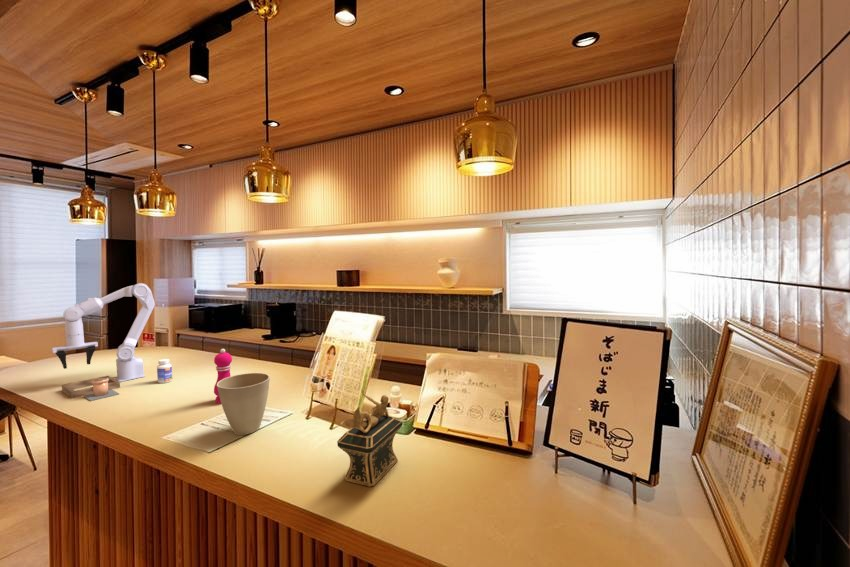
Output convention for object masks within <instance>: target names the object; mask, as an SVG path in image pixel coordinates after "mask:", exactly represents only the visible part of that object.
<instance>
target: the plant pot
mask: <svg viewBox="0 0 850 567" xmlns="http://www.w3.org/2000/svg"><path fill="white" fill-rule="evenodd" d="M230 376H231V377H227V378H225V379H222V380H220V381H219V382H218V383H217V389H218V393H219V397H220V401H221V404H220V405H221V407H222V410H223V412H224V415H225V417H226V420H227V422H228V425H229V426H230V427H231V429H232V431H233V433H234V434H235V435H239V436H242V435H249V434H253V433H256V431H258V430H259V429H260V427H261V424H262V421H263V418H264V413H265V411H266V406H267V400H268V398H269V397H268V396H269V389H270V380H271V377H270V375H269V374H267V373H265V372H264V373H263V372H246V373H240V374H236V375H235V374H234V375H230Z"/></svg>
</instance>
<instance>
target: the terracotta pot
mask: <svg viewBox="0 0 850 567" xmlns="http://www.w3.org/2000/svg"><path fill="white" fill-rule="evenodd" d="M98 378H99V377H98ZM94 379H95V378H94ZM108 381H109V378H99V379H95V380H92V384H93V385H92V387H93V390H94V396H96V397H97V396H104V395H107V394H108V393H109V392H108Z"/></svg>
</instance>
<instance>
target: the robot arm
mask: <svg viewBox="0 0 850 567" xmlns="http://www.w3.org/2000/svg"><path fill="white" fill-rule="evenodd" d="M133 296H134V297H135V298H136V299H138V300H139V302H140V304H141V307H140V309H139V310H138V312H137V314H136V317H135V319H134V321H133V323H132V325H131V327H130V329H129V331H128V333H127V335H126V337H125V339H124V340H123V342H122V344H120V345H119V346H118V347H117V350H116V359H115V362H116V376H117V377H113V379H115V380H117V381H119V382H120V383H122V382H125V381H131V380H134V379H139V378H144V377H145V372H144V371H145V370H144V368H145V367H144V361H143V358H142V357H140V356H136V355H135V348H136V345H137V343H138V341H139V338H140V337H141V335H142V333H143V331H144V328H145V326H146V325H147V322H148V321H149V318H150V316H151V314H152V312H153V309H154V308H155V306H156V303H155V300H154V296H153V292H152V290H151V288H150V287H149V285H147V284H146V283H142V282H139V283H136V284H133V285H129V286H126V287H123V288H120V289H117V290H115V291H113V292H111V293H109V294H107V295H104V296H103V297H100V298H99V297H88V298H87V300H84V301H82V302H80V303H74V306H70V307H67V308H66V309H65V310H64V311H63V315H62V316H63V318H64V319H65V320H64V331H65V332H64V333H65V343H66V344H65V345H62V346H55V347H51V352H52V354H55V355H56V356H57V357H58V358H59V360H60V362H61V366H62V368H63V369H68V365H67V353H66V352H67V351H75V350H80V349H85V354H86V355H85V356H86V365H91V362H92V357H93V355H94V353H95V351H96V349H97V348H96V347H99V344H98V343H99V342H98V341H91V342H85V337H84V336H85V334H84V324H83V319H82V317H84V316H85V317H86V316H89V315H91V314H94V313H95V312H98V311H100V310H103V309H104V306H105V305H107V304H109V303H113V301H116V300H118V299H121V298H123V297H129V298H130V297H133Z"/></svg>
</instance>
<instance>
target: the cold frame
mask: <svg viewBox="0 0 850 567" xmlns="http://www.w3.org/2000/svg"><path fill="white" fill-rule="evenodd" d="M99 378H109V381H108V390H111V389H112V390H114V389H115V390H116V389H118V388H121V382H119V381H117V380H115V379H114V377H111V376H109V375H105V376H99V377H96V378H95V377H94V378H91V379H86V380H85V379H84V380H81V381H74V382H70V383H66V384H62V385H61V391H62V392H63V393H64V394H65V395H67V396H68V397H69V398H71V399H75V398H79V397H84V395H89V394H93V393H94V390H93V384H92V380H95V379H99Z"/></svg>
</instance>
